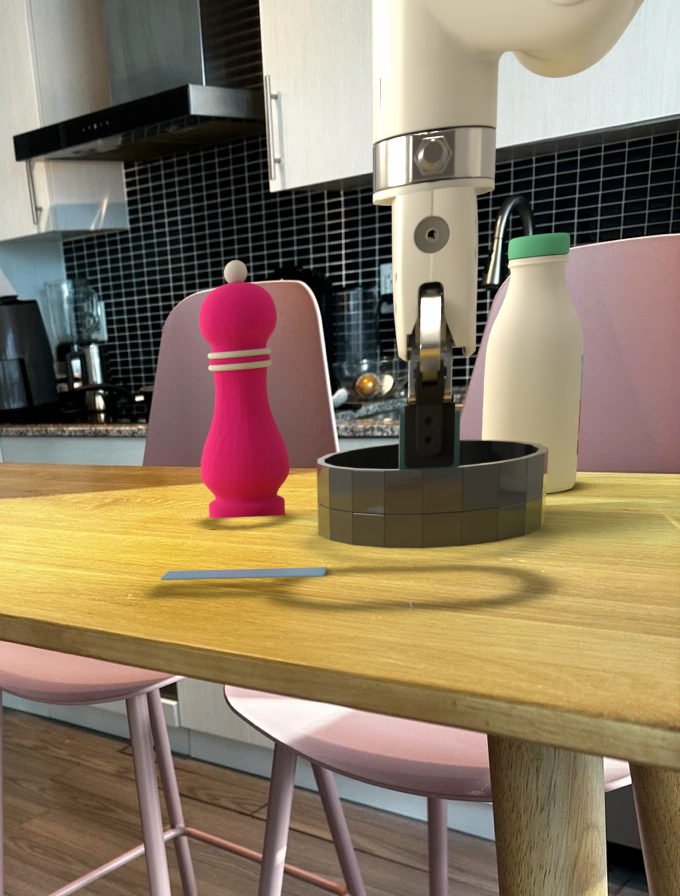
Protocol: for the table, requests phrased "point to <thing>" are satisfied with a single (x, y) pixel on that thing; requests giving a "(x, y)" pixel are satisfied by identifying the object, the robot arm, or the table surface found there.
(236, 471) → the pepper mill
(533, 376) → the milk bottle
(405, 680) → the table surface
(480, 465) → the dark round bowl
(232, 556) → the table surface
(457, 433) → the teal block
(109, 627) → the table surface
